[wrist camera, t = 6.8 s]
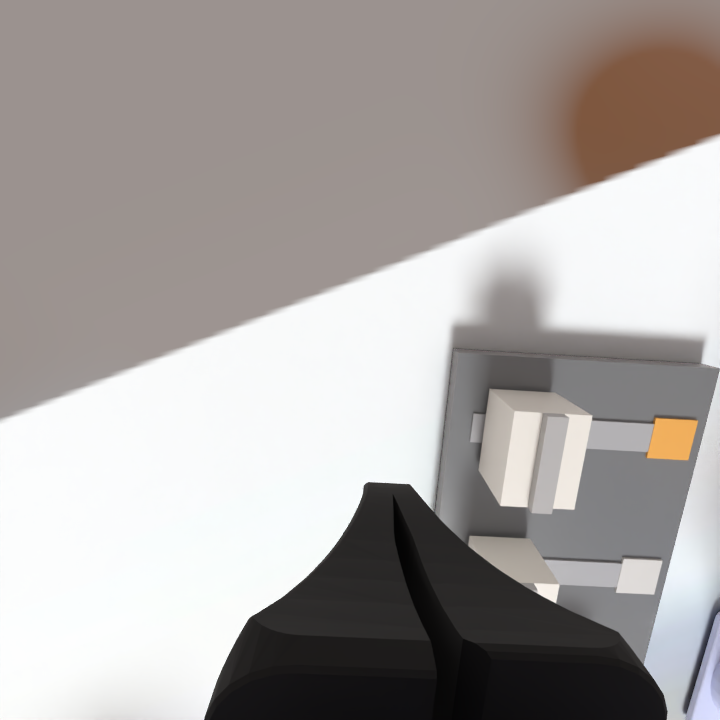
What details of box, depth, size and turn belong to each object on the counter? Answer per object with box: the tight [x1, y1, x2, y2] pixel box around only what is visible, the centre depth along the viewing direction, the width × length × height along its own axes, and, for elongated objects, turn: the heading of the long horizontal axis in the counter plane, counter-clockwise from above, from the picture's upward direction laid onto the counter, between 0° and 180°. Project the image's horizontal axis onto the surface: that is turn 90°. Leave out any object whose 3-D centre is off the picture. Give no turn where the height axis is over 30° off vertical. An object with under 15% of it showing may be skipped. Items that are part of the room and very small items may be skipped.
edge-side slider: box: [479, 389, 592, 514], centre depth 17 cm, size 3×4×3 cm
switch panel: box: [435, 349, 720, 664], centre depth 21 cm, size 12×22×1 cm, turn 176°
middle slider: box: [468, 536, 560, 603], centre depth 19 cm, size 3×4×3 cm
